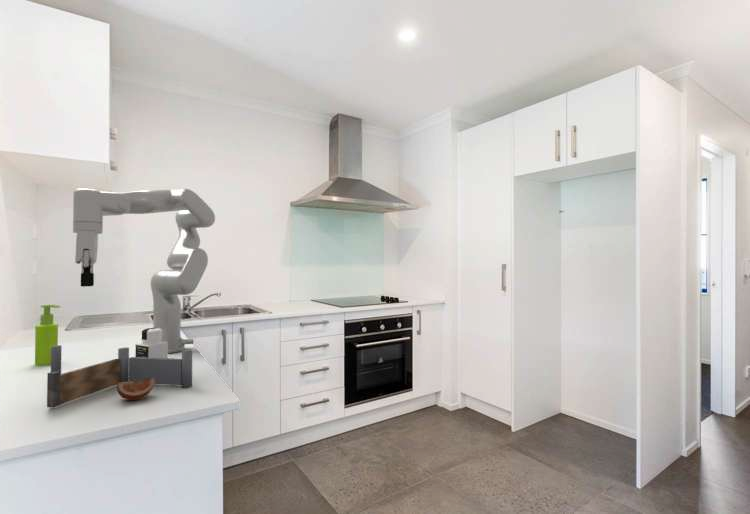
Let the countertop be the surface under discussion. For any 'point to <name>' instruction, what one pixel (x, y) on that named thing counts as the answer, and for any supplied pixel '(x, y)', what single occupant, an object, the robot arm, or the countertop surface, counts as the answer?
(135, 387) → the fruit slice
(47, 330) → the soap dispenser
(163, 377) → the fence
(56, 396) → the gate
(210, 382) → the countertop surface
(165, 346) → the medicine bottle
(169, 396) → the countertop surface
